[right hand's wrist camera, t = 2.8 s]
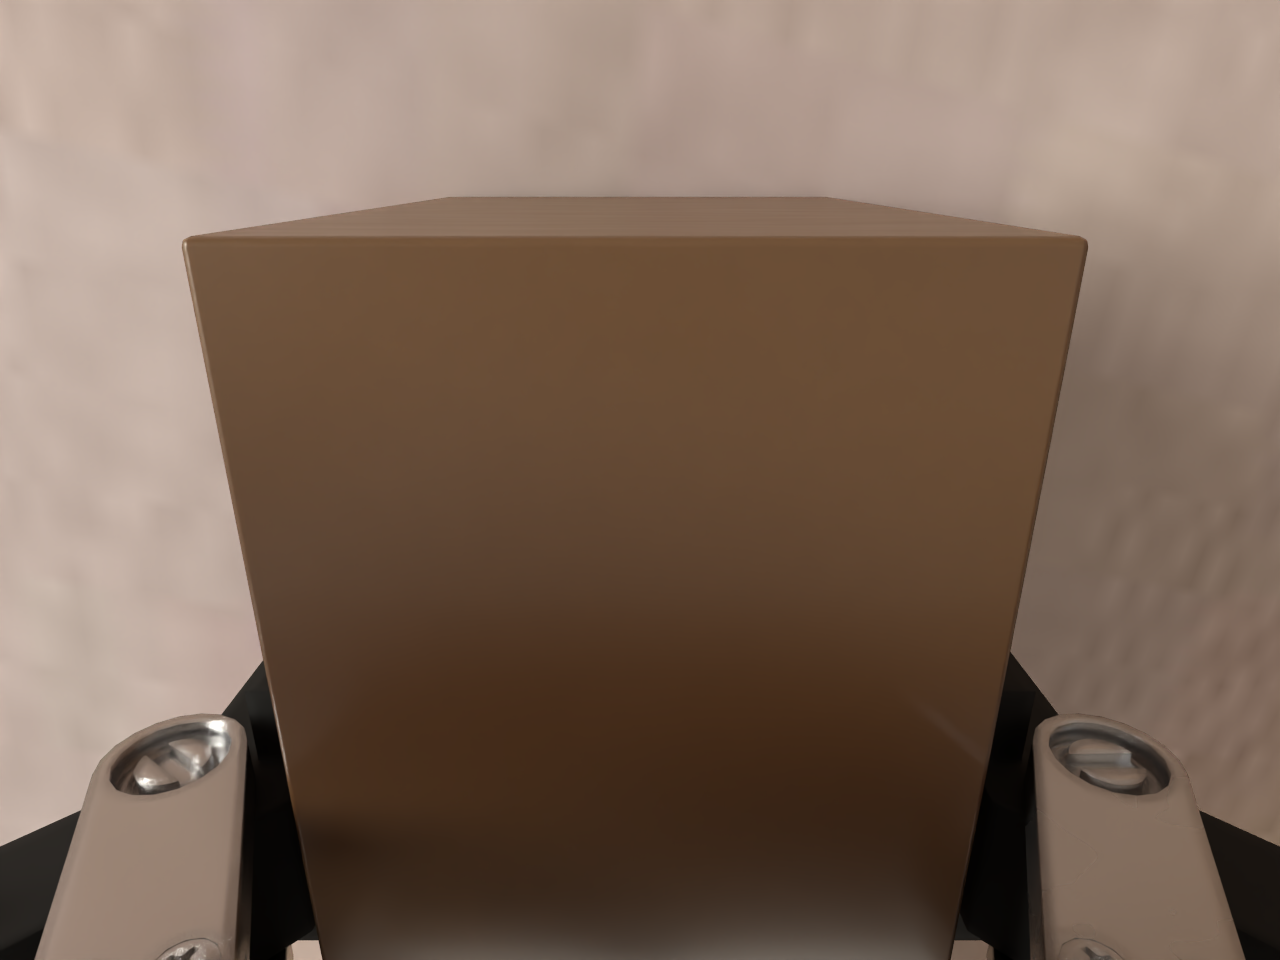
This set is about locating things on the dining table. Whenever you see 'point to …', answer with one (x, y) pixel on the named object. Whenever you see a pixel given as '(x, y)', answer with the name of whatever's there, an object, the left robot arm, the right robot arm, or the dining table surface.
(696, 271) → the post
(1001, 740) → the right robot arm
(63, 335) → the dining table surface
